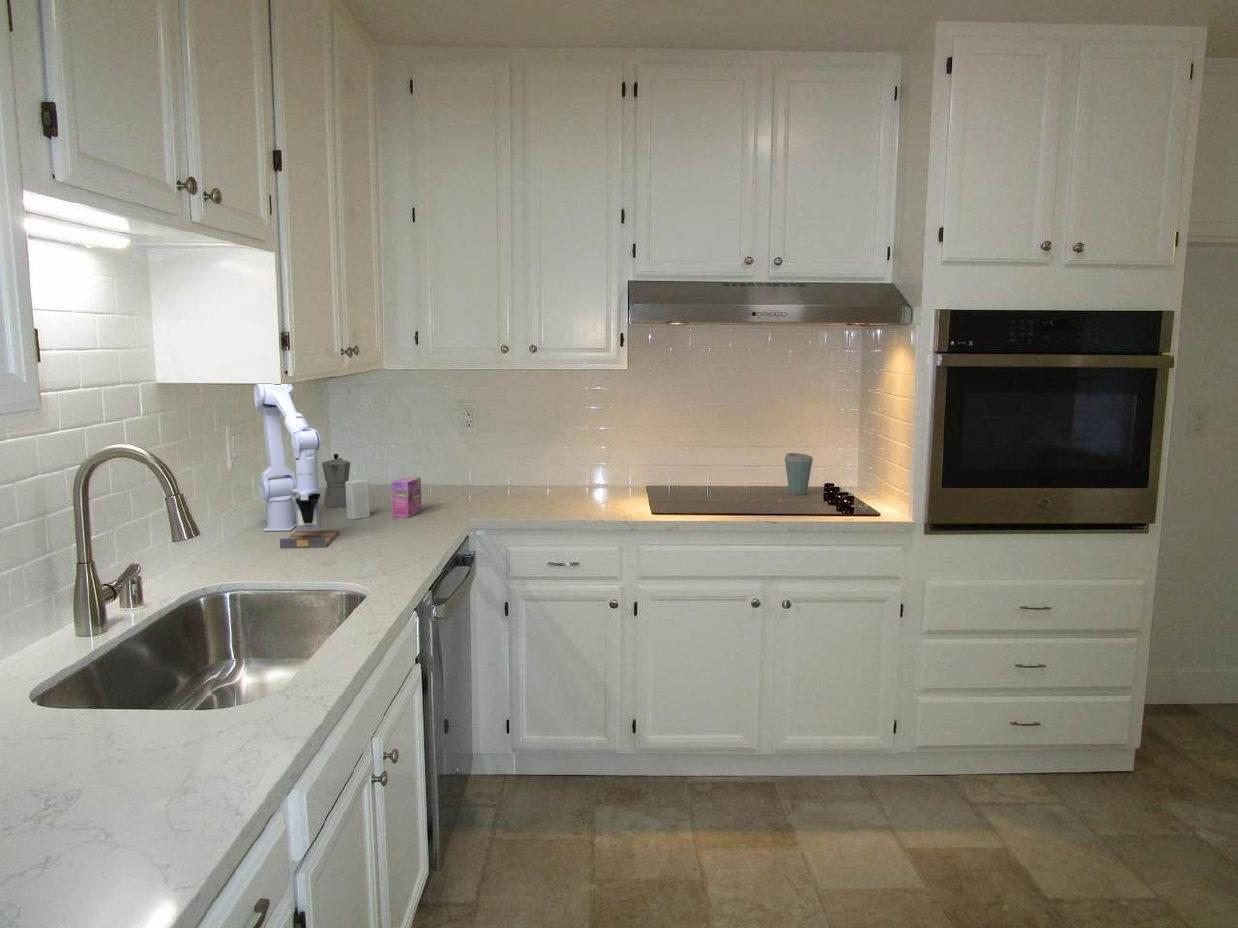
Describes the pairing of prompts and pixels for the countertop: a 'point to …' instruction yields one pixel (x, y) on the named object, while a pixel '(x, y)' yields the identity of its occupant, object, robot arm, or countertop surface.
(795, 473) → the disposable coffee cup
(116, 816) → the countertop surface
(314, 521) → the carton
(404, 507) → the box
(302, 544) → the price rail
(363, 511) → the skincare box
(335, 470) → the coffeepot
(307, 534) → the shelf board
